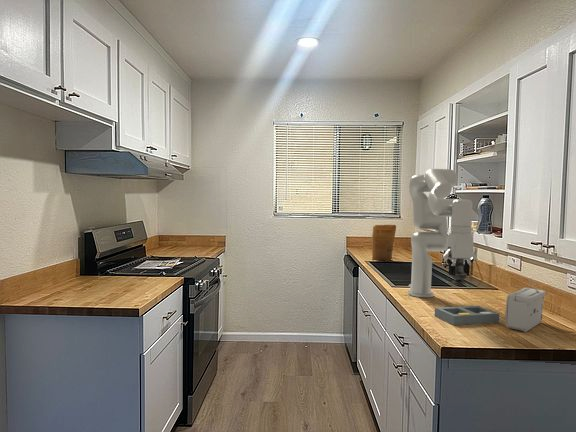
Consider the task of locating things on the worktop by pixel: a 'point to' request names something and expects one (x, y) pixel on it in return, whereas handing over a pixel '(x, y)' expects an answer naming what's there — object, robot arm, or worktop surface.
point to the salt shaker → (459, 272)
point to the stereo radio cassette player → (524, 308)
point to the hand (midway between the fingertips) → (458, 274)
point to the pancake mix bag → (383, 241)
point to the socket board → (466, 315)
